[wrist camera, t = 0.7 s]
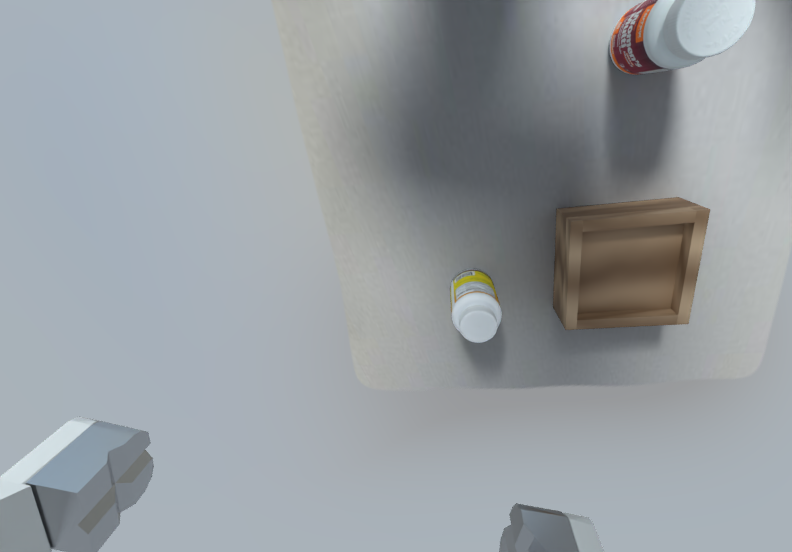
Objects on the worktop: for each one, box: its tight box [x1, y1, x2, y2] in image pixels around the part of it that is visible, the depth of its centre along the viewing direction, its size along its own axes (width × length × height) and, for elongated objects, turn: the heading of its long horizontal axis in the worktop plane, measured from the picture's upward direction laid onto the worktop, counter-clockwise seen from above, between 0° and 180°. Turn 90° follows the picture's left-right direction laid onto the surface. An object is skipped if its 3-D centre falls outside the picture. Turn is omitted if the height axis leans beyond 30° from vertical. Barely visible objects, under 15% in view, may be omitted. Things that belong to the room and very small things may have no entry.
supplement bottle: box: [450, 269, 502, 343], centre depth 46 cm, size 6×6×10 cm
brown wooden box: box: [553, 197, 710, 330], centre depth 44 cm, size 13×13×6 cm
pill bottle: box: [609, 0, 755, 75], centre depth 33 cm, size 6×6×11 cm
